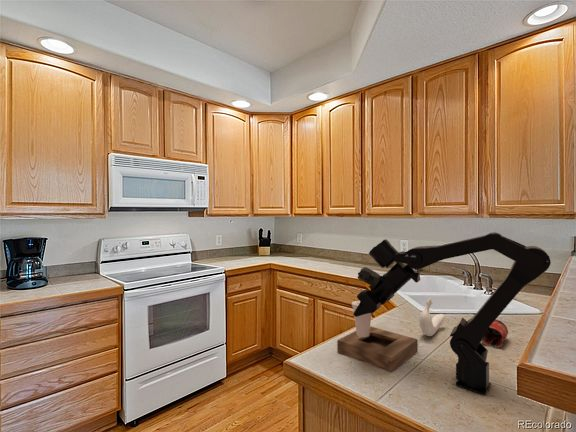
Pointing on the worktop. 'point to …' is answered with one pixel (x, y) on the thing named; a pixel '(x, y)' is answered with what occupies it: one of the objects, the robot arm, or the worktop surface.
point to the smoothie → (362, 321)
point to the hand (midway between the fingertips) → (358, 312)
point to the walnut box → (378, 348)
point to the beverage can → (495, 333)
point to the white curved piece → (430, 320)
